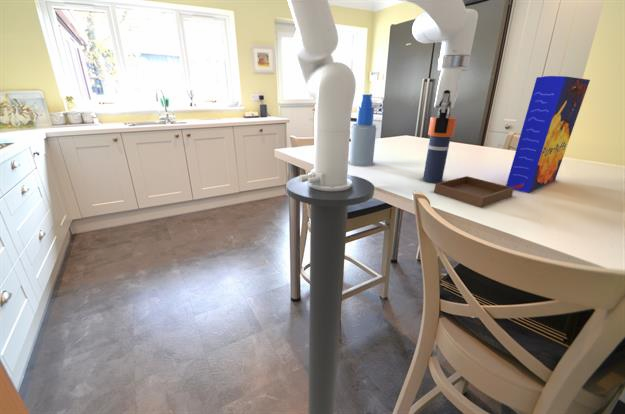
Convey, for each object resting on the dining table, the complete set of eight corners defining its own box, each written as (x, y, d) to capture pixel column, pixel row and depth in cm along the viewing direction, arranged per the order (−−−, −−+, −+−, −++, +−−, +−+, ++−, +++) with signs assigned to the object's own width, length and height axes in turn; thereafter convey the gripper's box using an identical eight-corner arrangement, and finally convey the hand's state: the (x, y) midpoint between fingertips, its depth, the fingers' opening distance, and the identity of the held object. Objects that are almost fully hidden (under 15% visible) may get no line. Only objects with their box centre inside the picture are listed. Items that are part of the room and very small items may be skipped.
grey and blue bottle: (376, 162, 111) (383, 94, 102) (367, 167, 104) (374, 94, 95) (355, 159, 116) (360, 94, 106) (345, 163, 109) (350, 93, 99)
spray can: (434, 184, 86) (443, 137, 81) (418, 179, 90) (426, 134, 85) (445, 181, 89) (455, 135, 83) (430, 177, 93) (437, 133, 88)
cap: (443, 137, 80) (447, 119, 78) (423, 134, 85) (425, 117, 83) (458, 136, 83) (462, 118, 81) (437, 133, 89) (440, 116, 87)
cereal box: (528, 192, 79) (566, 75, 68) (505, 187, 84) (537, 76, 73) (554, 180, 91) (590, 78, 80) (533, 176, 96) (564, 79, 85)
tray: (481, 207, 69) (483, 197, 68) (433, 192, 79) (435, 183, 78) (511, 196, 76) (514, 187, 75) (464, 183, 87) (466, 176, 86)
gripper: (441, 67, 86) (431, 127, 93) (435, 61, 71) (423, 133, 78) (468, 66, 83) (456, 129, 89) (468, 60, 68) (453, 136, 75)
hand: (441, 130), depth 84 cm, fingers closed on cap, 7 cm apart
